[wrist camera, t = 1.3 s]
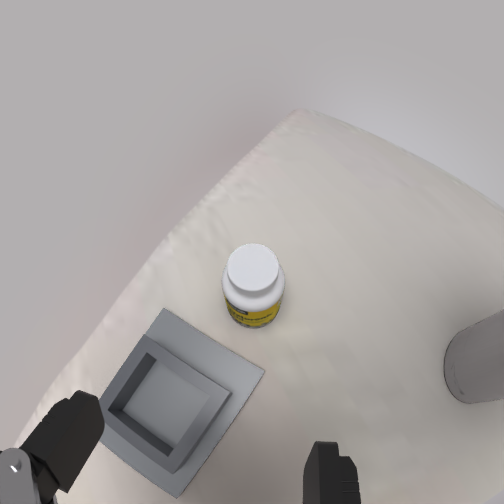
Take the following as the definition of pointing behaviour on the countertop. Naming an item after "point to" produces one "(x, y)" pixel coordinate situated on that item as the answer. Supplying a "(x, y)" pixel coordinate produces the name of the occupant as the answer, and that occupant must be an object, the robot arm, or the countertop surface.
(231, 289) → the supplement bottle
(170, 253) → the countertop surface
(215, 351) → the gray socket holder
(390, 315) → the countertop surface
